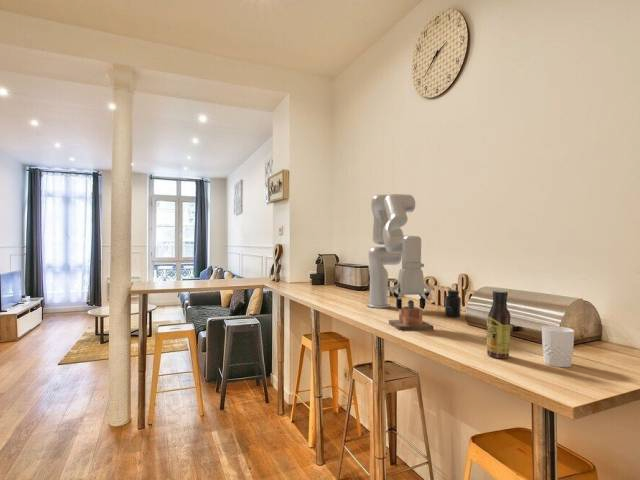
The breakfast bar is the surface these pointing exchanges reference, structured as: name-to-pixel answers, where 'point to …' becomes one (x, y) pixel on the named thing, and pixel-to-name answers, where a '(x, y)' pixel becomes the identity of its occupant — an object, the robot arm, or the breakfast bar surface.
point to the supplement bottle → (453, 304)
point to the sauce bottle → (498, 326)
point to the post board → (401, 326)
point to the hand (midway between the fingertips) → (410, 308)
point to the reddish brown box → (410, 316)
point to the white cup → (557, 345)
